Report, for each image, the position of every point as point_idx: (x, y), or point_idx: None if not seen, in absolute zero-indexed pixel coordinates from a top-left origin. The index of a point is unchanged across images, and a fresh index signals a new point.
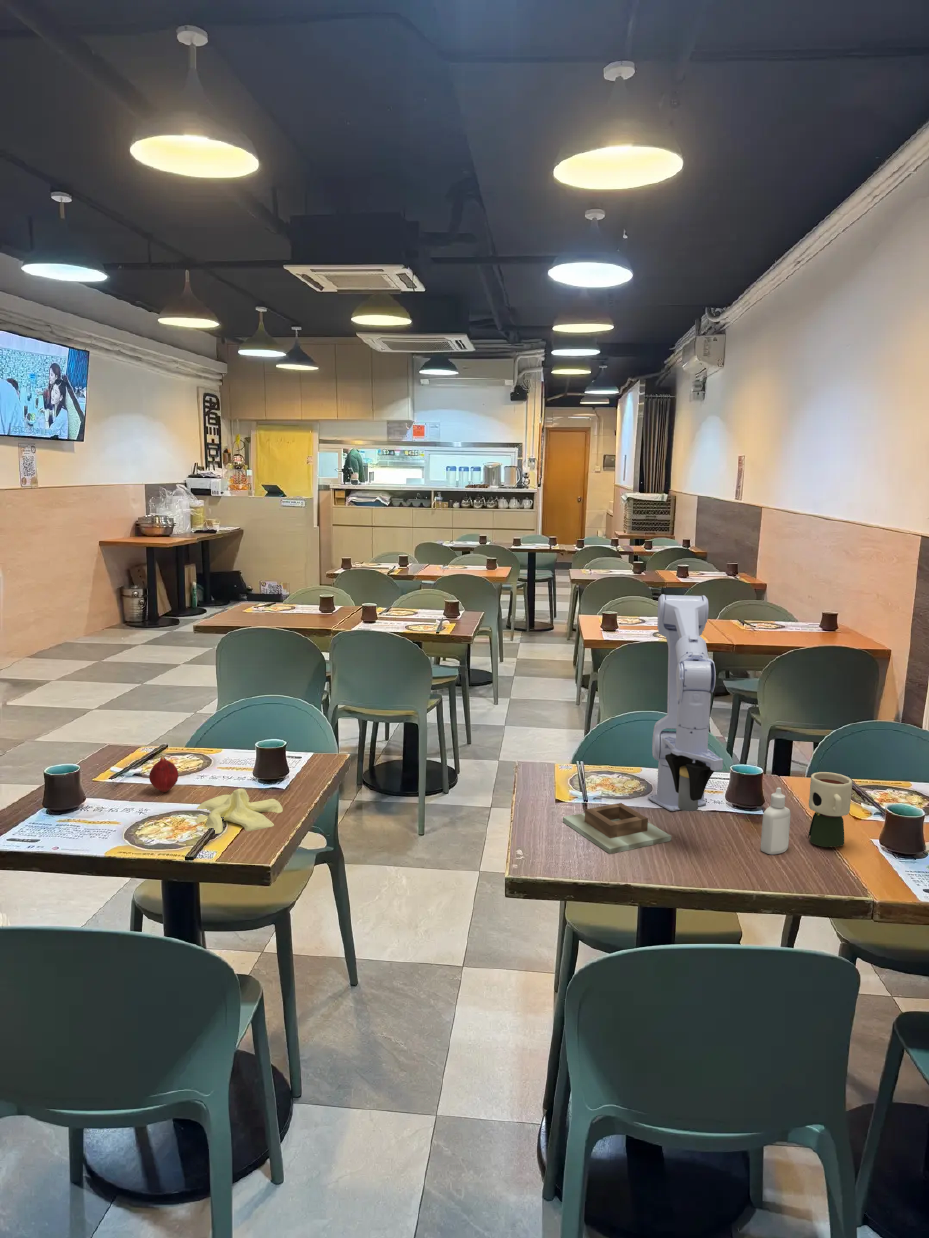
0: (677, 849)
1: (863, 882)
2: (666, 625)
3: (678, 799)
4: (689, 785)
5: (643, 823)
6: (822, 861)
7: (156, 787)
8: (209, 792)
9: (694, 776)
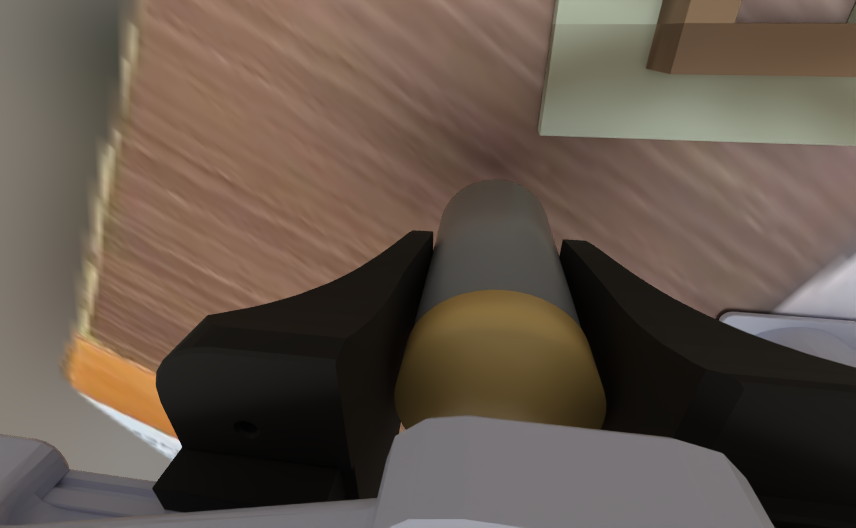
0: (463, 98)
1: (152, 374)
2: None
3: (529, 205)
4: (436, 275)
5: (669, 38)
6: None
7: None
8: None
9: (282, 301)
